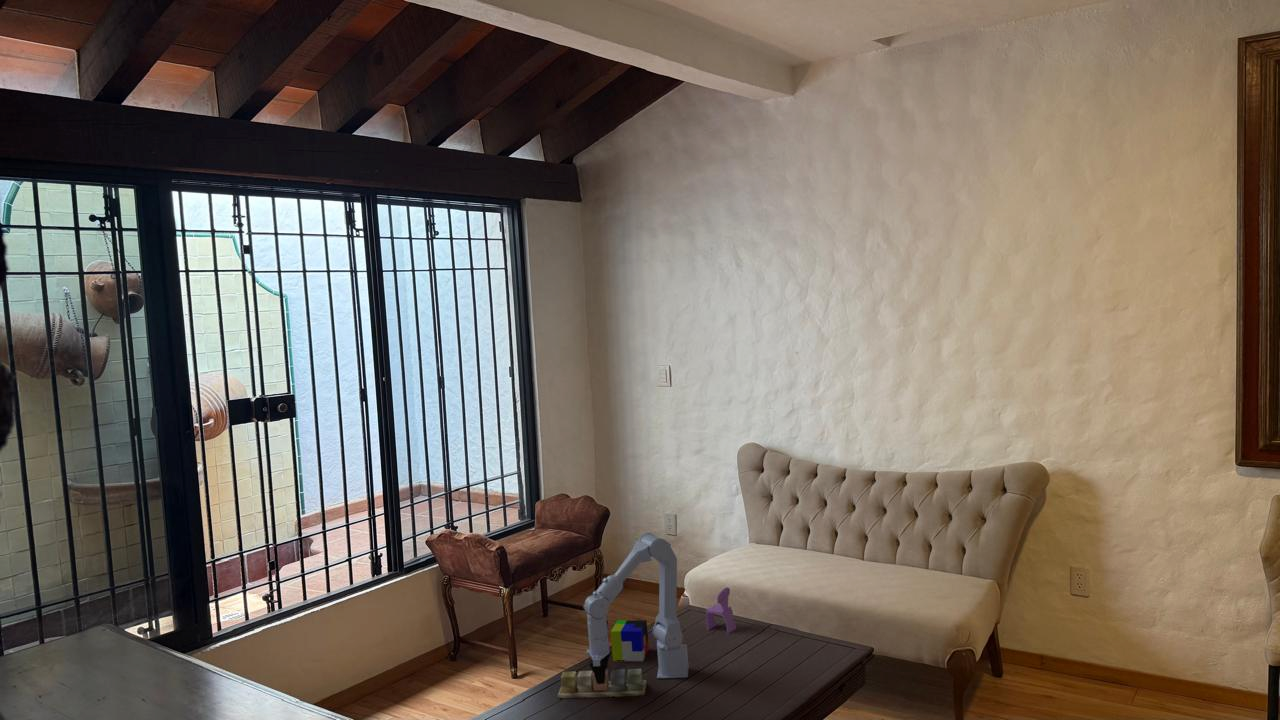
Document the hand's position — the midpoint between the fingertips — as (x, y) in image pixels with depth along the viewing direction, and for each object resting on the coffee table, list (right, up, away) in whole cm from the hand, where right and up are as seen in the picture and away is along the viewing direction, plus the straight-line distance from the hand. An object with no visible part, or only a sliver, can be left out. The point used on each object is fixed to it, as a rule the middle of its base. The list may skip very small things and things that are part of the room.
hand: (601, 680), depth 267 cm
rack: (0, -3, 0) cm, 3 cm away
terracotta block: (0, -2, 0) cm, 2 cm away
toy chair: (+40, +2, +44) cm, 59 cm away
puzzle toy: (+9, -2, +27) cm, 28 cm away
